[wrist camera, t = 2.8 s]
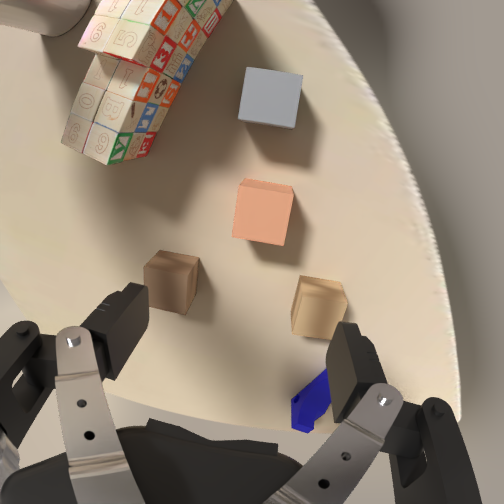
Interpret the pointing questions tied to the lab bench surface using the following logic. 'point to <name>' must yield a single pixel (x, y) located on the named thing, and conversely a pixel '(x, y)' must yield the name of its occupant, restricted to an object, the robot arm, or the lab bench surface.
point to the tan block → (171, 281)
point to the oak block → (317, 307)
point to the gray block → (270, 97)
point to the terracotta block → (262, 211)
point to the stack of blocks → (135, 72)
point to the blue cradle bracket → (310, 403)
